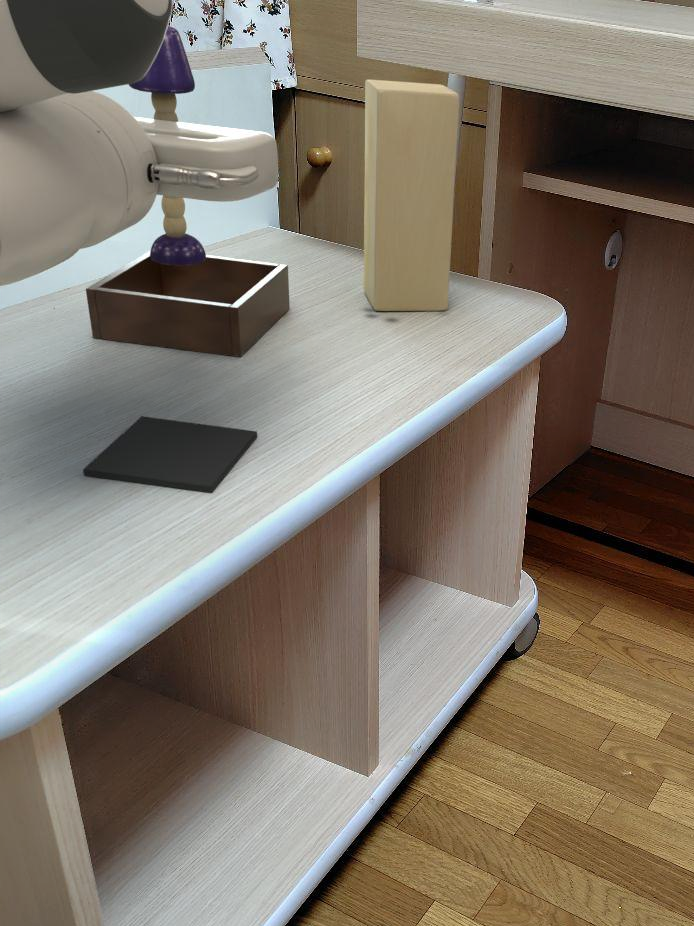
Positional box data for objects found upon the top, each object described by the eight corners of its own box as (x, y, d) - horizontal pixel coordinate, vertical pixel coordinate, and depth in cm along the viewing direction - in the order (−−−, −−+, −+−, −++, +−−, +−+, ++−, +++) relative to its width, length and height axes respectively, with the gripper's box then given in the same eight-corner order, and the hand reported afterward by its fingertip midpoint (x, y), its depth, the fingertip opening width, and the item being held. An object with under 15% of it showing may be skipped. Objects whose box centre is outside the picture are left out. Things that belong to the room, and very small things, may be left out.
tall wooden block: (433, 288, 109) (441, 82, 98) (450, 311, 103) (460, 94, 92) (361, 289, 107) (361, 77, 96) (374, 312, 101) (375, 89, 90)
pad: (83, 475, 68) (82, 469, 67) (142, 421, 75) (141, 415, 75) (211, 492, 67) (211, 486, 67) (257, 437, 75) (257, 431, 75)
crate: (92, 337, 88) (85, 288, 86) (158, 292, 100) (153, 247, 98) (241, 357, 88) (237, 308, 85) (289, 309, 99) (288, 264, 97)
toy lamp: (221, 262, 79) (203, 30, 71) (168, 271, 76) (143, 30, 67) (187, 248, 82) (166, 22, 73) (135, 256, 79) (106, 21, 70)
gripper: (237, 132, 61) (304, 103, 73) (-83, 95, 62) (35, 72, 74) (243, 235, 64) (307, 191, 76) (-61, 199, 65) (49, 161, 77)
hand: (171, 132), depth 75 cm, fingers closed on toy lamp
